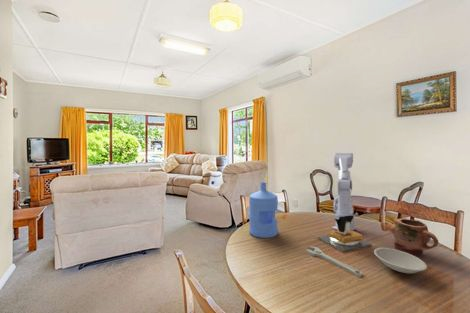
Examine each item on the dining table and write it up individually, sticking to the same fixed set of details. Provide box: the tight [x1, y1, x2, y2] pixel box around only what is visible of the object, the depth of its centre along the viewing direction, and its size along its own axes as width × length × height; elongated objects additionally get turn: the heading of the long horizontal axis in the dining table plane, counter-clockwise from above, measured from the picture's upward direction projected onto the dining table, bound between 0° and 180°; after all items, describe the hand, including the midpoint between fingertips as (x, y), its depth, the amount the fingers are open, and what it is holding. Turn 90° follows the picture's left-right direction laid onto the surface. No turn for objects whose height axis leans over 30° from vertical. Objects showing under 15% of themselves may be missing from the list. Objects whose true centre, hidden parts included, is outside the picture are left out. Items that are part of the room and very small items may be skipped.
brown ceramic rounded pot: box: [389, 218, 439, 257], centre depth 101 cm, size 20×12×14 cm, turn 20°
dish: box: [373, 247, 428, 274], centre depth 87 cm, size 18×14×5 cm
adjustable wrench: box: [306, 245, 363, 277], centre depth 94 cm, size 25×6×2 cm, turn 25°
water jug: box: [248, 181, 279, 239], centre depth 125 cm, size 16×16×28 cm
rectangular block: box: [338, 221, 350, 236], centre depth 112 cm, size 4×4×7 cm
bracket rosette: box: [317, 229, 372, 253], centre depth 113 cm, size 18×16×4 cm
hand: (343, 230), depth 112 cm, fingers closed on rectangular block, 4 cm apart
